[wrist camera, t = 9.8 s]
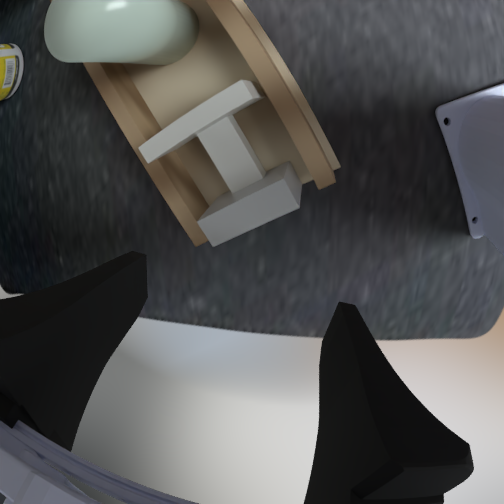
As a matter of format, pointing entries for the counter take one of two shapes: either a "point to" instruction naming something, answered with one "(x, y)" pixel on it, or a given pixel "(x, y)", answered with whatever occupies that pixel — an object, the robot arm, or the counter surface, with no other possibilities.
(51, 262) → the counter surface
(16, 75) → the supplement bottle
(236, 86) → the pusher
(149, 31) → the green jar
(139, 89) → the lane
